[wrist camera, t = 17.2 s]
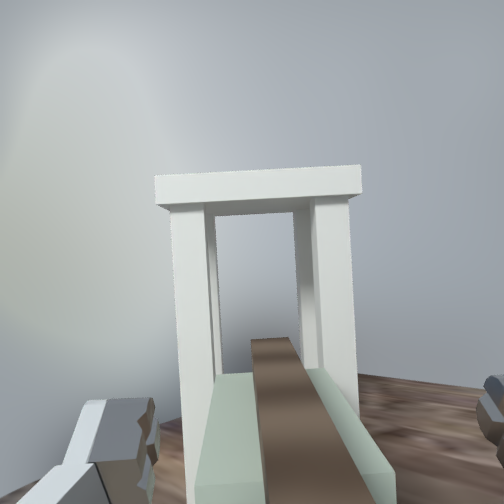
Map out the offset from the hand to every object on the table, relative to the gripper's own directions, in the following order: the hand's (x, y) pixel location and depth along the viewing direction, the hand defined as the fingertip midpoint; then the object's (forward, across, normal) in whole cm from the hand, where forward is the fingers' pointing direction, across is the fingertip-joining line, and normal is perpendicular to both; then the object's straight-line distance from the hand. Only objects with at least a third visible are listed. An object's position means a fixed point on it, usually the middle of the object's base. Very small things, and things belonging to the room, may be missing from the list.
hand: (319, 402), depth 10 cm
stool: (+21, 0, +35) cm, 40 cm away
